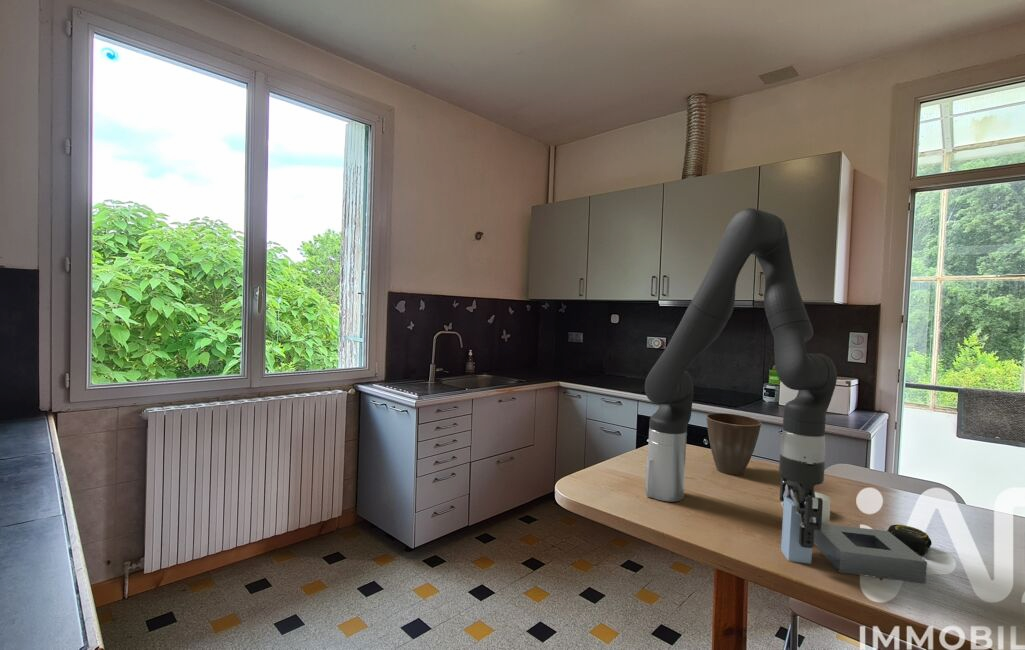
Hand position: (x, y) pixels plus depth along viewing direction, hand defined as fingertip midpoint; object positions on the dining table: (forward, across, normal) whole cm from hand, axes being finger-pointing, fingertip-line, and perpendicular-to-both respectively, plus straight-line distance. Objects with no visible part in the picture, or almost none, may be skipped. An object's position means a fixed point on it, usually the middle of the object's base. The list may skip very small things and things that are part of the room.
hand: (797, 536), depth 92 cm
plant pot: (+4, -50, 0) cm, 50 cm away
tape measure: (+5, -10, +25) cm, 27 cm away
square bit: (+4, 0, 0) cm, 4 cm away
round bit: (+4, -13, +8) cm, 16 cm away
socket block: (+4, -2, +13) cm, 14 cm away
